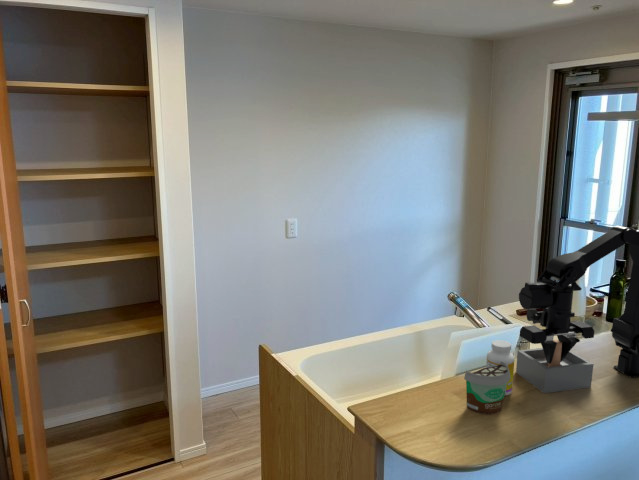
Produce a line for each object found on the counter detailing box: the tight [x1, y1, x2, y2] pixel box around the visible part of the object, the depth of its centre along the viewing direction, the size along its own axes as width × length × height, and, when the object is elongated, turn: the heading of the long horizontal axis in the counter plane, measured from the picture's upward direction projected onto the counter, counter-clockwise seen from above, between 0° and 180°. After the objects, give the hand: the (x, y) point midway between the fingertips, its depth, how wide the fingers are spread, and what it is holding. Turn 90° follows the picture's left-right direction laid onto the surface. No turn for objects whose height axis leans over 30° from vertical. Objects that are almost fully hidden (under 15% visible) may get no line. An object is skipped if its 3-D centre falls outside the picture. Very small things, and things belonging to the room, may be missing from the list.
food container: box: [464, 361, 510, 415], centre depth 122 cm, size 12×6×10 cm, turn 118°
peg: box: [547, 339, 562, 367], centre depth 137 cm, size 3×3×8 cm
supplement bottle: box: [485, 339, 515, 397], centre depth 131 cm, size 7×7×13 cm
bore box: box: [515, 347, 594, 394], centre depth 138 cm, size 14×12×6 cm
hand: (554, 362), depth 137 cm, fingers closed on peg, 3 cm apart
